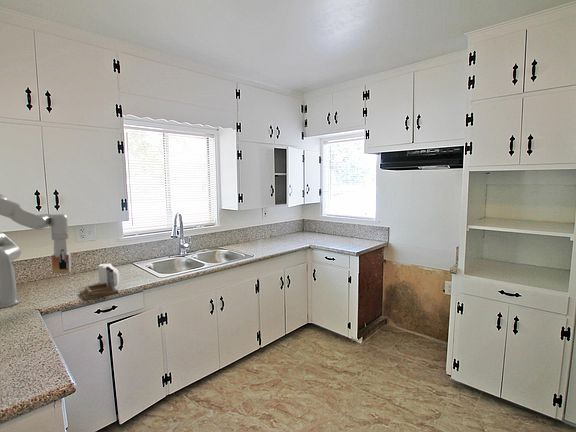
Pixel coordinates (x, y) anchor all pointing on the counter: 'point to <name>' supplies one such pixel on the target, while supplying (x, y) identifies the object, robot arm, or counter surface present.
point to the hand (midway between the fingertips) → (61, 267)
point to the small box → (56, 264)
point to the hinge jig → (100, 288)
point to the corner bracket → (104, 274)
